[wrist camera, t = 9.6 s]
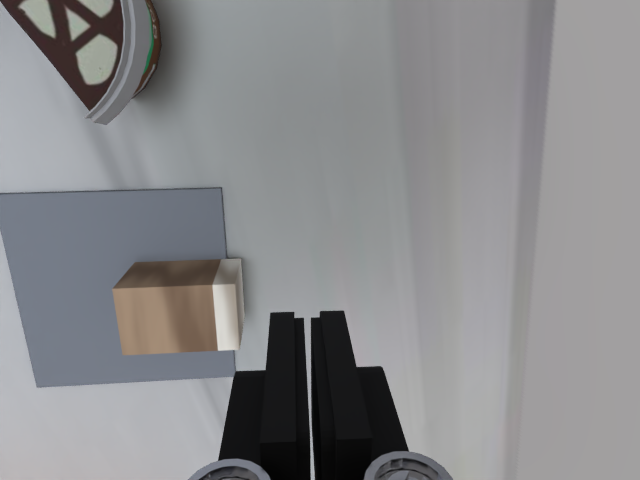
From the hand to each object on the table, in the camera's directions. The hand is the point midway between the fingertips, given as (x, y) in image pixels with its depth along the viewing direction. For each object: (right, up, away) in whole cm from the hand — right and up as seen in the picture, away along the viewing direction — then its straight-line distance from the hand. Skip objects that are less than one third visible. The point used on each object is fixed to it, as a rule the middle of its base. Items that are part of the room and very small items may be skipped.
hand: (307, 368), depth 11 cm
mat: (-15, -1, +26) cm, 30 cm away
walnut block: (-6, -2, +24) cm, 24 cm away
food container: (-13, +18, +20) cm, 30 cm away
